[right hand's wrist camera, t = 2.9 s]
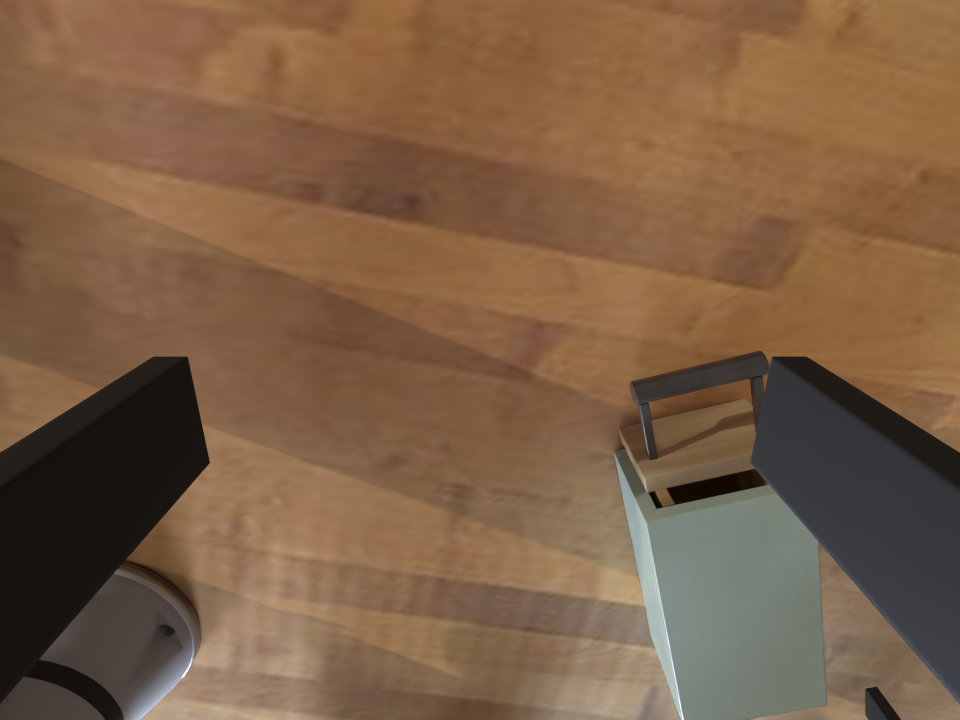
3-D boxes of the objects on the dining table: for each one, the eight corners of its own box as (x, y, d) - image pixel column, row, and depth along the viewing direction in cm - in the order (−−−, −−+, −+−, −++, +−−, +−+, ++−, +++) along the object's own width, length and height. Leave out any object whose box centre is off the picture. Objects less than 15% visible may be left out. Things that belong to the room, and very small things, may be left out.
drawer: (604, 358, 39) (629, 398, 33) (738, 325, 38) (789, 360, 32) (654, 611, 48) (681, 682, 42) (764, 589, 47) (809, 658, 41)
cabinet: (613, 450, 43) (645, 522, 35) (749, 419, 42) (816, 485, 34) (650, 635, 50) (685, 731, 42) (768, 612, 49) (827, 705, 41)
